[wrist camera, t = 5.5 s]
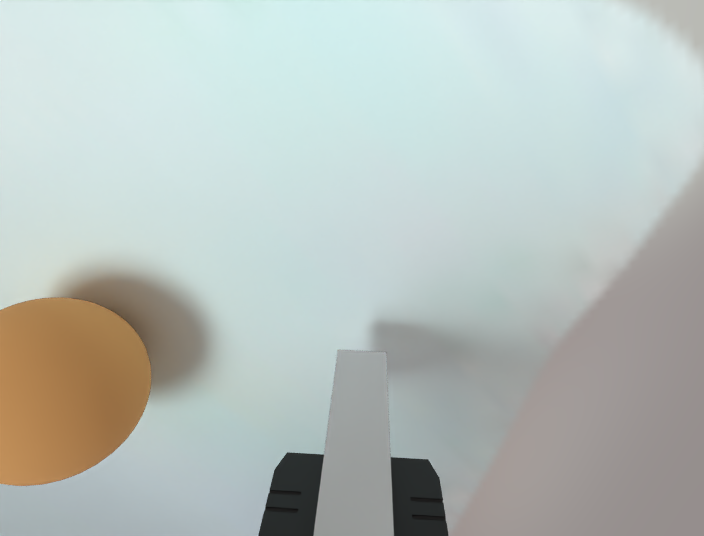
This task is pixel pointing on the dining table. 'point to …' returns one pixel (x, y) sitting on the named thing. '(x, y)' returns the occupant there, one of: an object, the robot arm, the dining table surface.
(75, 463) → the ball
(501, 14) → the dining table surface
